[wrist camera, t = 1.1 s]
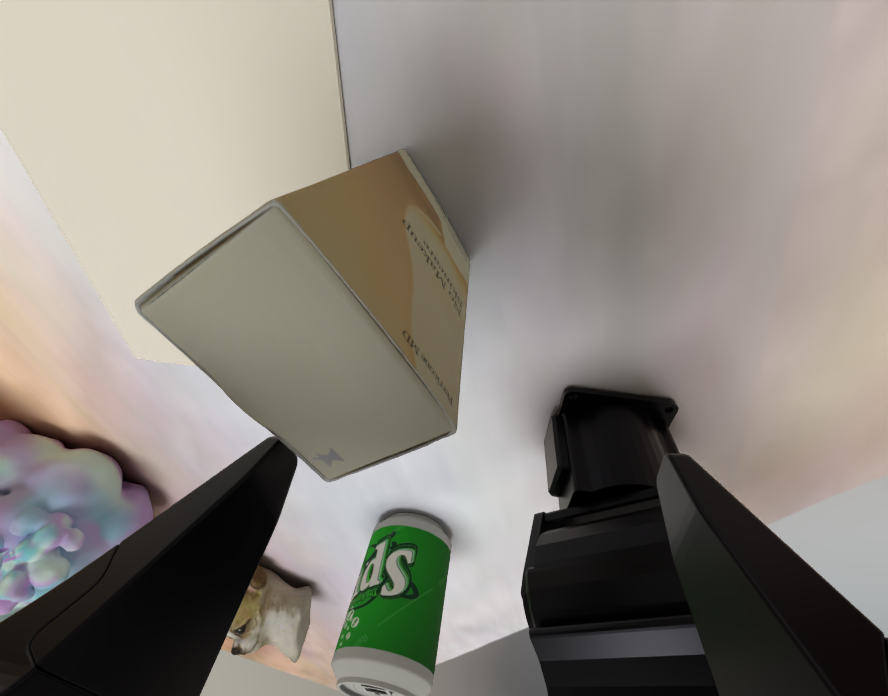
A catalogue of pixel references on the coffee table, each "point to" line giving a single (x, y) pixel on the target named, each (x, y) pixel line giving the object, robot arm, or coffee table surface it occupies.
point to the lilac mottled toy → (57, 512)
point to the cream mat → (166, 127)
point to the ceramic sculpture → (271, 616)
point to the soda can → (395, 611)
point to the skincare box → (331, 316)
